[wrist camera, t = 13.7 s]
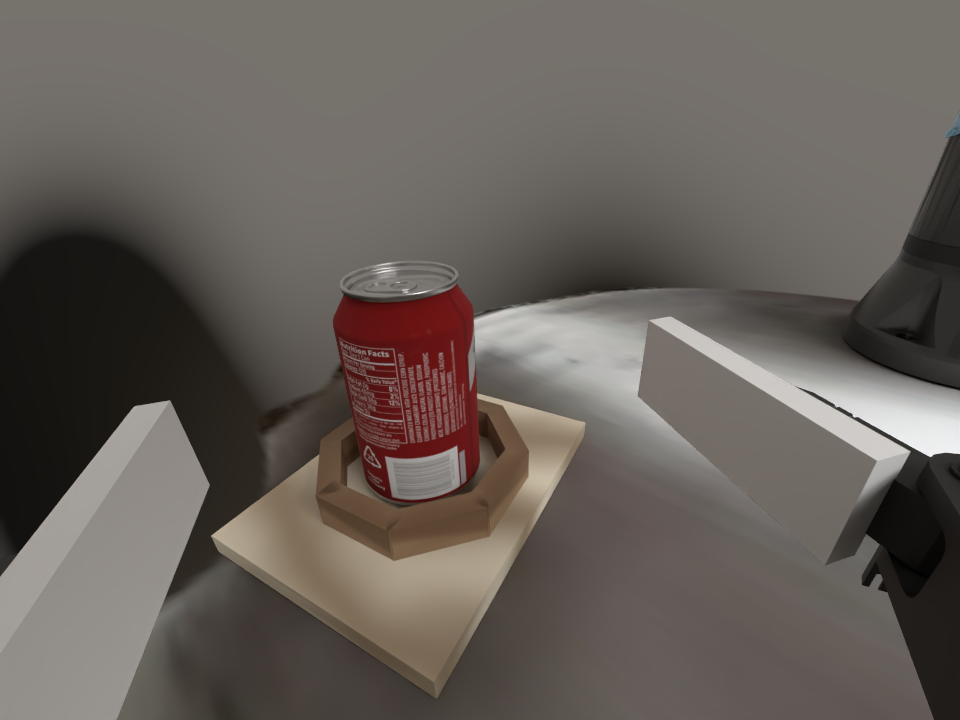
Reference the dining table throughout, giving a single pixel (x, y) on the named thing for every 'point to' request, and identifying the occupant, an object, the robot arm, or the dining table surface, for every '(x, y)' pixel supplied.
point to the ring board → (412, 588)
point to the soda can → (410, 378)
